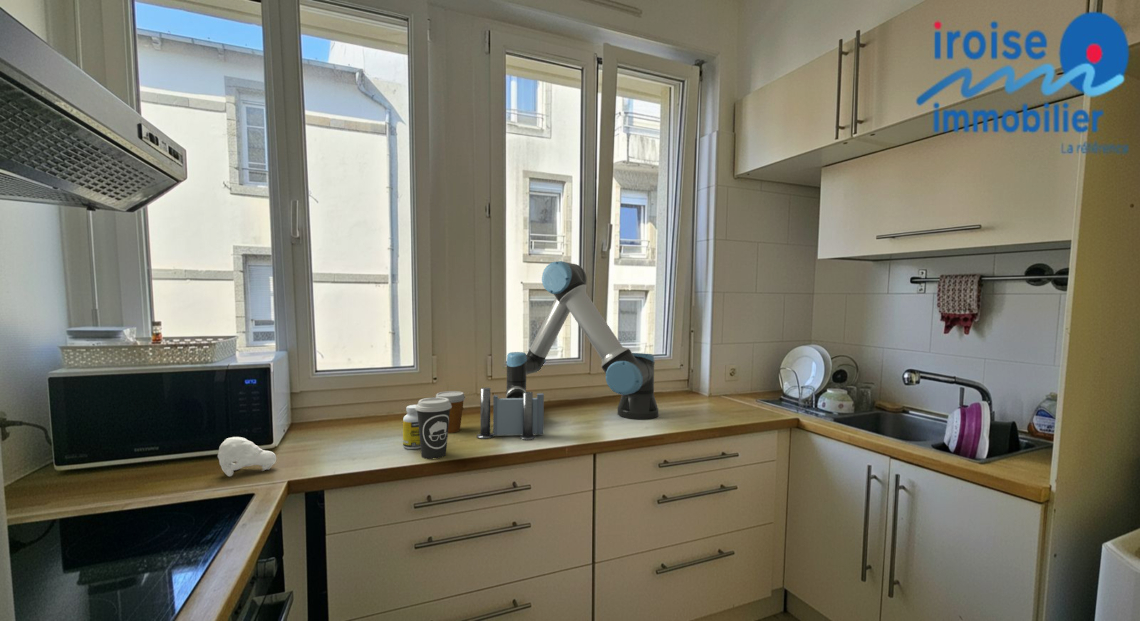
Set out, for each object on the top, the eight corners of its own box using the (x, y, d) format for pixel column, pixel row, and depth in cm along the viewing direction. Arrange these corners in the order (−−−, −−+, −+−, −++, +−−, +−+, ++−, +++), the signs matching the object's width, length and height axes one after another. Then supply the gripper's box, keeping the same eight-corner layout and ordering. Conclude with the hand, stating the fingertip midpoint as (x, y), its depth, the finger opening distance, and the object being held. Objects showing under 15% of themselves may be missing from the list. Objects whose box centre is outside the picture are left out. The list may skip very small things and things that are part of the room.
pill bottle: (404, 451, 131) (404, 409, 131) (401, 444, 137) (401, 405, 136) (428, 447, 134) (428, 407, 134) (424, 441, 140) (424, 403, 139)
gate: (493, 435, 144) (493, 395, 144) (493, 433, 147) (493, 394, 146) (543, 434, 146) (543, 394, 146) (543, 432, 148) (543, 393, 148)
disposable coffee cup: (470, 430, 152) (470, 393, 152) (445, 436, 145) (445, 397, 145) (454, 424, 159) (454, 389, 158) (429, 430, 152) (429, 393, 151)
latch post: (536, 435, 146) (536, 391, 146) (534, 440, 142) (534, 394, 141) (521, 435, 147) (521, 391, 146) (518, 440, 142) (518, 394, 142)
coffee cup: (456, 449, 132) (456, 397, 132) (444, 461, 123) (444, 404, 122) (424, 448, 133) (424, 396, 133) (409, 460, 124) (409, 403, 123)
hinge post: (495, 434, 148) (495, 387, 147) (491, 439, 143) (491, 390, 142) (479, 434, 148) (479, 386, 148) (474, 438, 143) (475, 389, 142)
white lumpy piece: (226, 434, 116) (281, 434, 120) (223, 468, 116) (278, 468, 120) (216, 441, 110) (274, 441, 114) (212, 477, 110) (270, 477, 114)
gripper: (535, 408, 172) (539, 425, 148) (497, 409, 170) (495, 426, 147) (535, 388, 172) (539, 402, 148) (497, 388, 170) (495, 403, 146)
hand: (517, 414), depth 147 cm, fingers closed, pressing on gate
